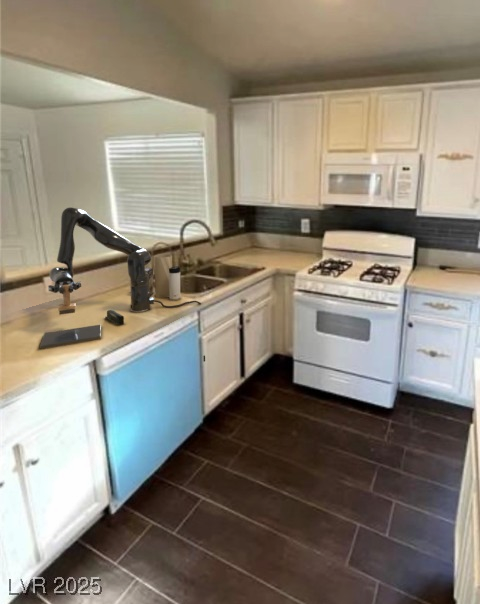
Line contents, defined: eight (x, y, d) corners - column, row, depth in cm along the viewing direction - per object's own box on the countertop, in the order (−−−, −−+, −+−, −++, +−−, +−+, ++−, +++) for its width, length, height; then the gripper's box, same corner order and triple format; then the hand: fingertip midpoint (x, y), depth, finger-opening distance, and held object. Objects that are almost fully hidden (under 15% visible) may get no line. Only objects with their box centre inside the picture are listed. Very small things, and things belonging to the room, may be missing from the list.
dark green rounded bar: (125, 315, 175) (109, 307, 184) (118, 317, 173) (103, 309, 181) (125, 324, 176) (109, 316, 184) (119, 326, 174) (103, 318, 182)
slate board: (100, 327, 172) (100, 324, 171) (100, 339, 160) (100, 335, 159) (44, 336, 161) (44, 332, 161) (40, 349, 149) (39, 345, 149)
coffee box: (148, 297, 215) (147, 271, 213) (137, 297, 215) (136, 271, 213) (153, 292, 224) (152, 267, 222) (143, 292, 224) (142, 267, 222)
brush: (75, 309, 170) (74, 283, 168) (75, 312, 166) (73, 285, 164) (59, 311, 167) (58, 285, 165) (58, 315, 163) (57, 287, 161)
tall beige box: (151, 296, 217) (150, 256, 213) (162, 291, 226) (161, 253, 223) (166, 298, 214) (165, 258, 211) (175, 293, 224) (175, 254, 221)
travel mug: (177, 301, 210) (176, 268, 208) (167, 300, 212) (166, 267, 209) (183, 297, 216) (182, 265, 214) (173, 296, 218) (172, 265, 215)
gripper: (46, 276, 171) (47, 285, 158) (80, 272, 180) (84, 281, 166) (47, 291, 172) (48, 302, 159) (80, 286, 181) (84, 296, 167)
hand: (66, 291), depth 163 cm, fingers closed on brush, 2 cm apart
